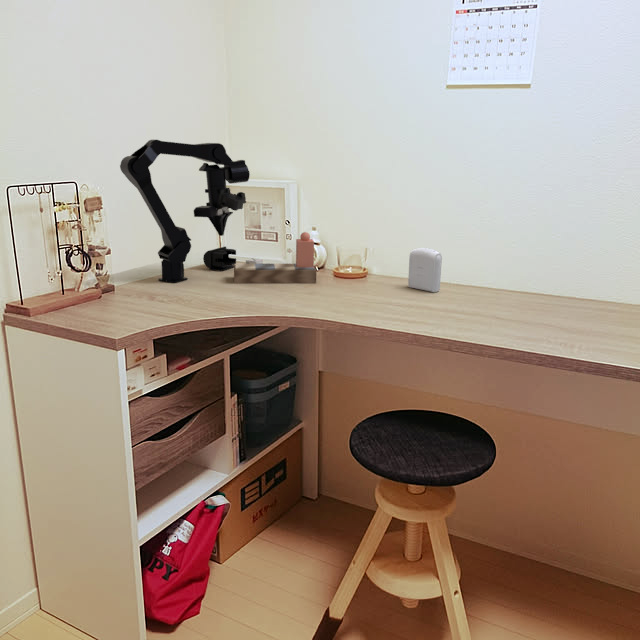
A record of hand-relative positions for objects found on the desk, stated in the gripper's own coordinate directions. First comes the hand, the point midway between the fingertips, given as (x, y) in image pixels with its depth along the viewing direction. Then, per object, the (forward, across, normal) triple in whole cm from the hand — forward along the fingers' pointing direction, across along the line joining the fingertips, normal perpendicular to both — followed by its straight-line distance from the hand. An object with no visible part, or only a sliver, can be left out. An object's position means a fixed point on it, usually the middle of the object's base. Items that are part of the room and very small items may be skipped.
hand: (221, 235), depth 204 cm
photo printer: (+16, +14, -61) cm, 65 cm away
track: (+14, +2, -17) cm, 22 cm away
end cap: (+13, +8, +8) cm, 18 cm away
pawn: (+10, +7, -25) cm, 28 cm away
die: (+14, +9, -5) cm, 17 cm away
